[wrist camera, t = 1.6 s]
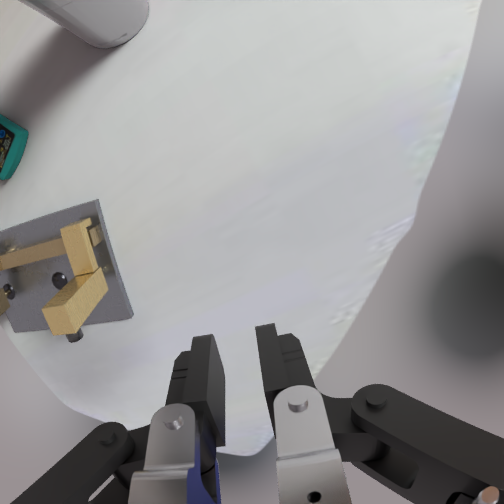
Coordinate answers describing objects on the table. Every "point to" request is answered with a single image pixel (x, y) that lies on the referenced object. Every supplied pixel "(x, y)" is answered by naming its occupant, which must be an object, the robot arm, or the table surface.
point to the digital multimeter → (10, 146)
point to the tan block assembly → (37, 256)
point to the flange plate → (58, 271)
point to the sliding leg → (76, 285)
